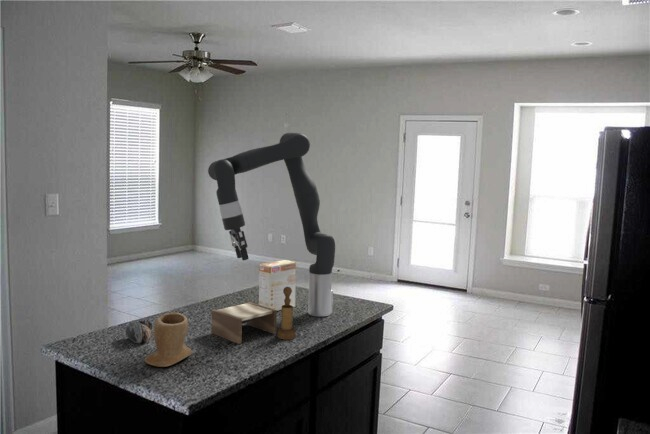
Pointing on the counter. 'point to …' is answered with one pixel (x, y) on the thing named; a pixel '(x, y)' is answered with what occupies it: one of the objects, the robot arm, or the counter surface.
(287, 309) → the brown wooden pepper mill
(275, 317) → the brown upright panels
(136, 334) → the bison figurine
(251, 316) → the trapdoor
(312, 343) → the counter surface
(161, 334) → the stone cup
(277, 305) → the coffeecake box
